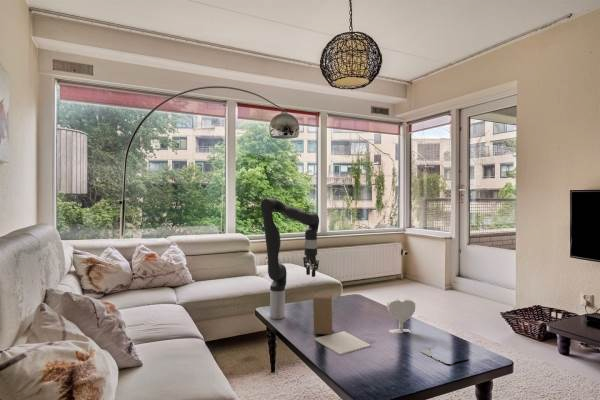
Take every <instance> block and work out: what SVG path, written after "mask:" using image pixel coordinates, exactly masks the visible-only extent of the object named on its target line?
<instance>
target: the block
mask: <svg viewBox="0 0 600 400" xmlns="http://www.w3.org/2000/svg"><path fill="white" fill-rule="evenodd" d="M332 298H333V297H332V294H329V293H327V294H326V293H325V294H324V293H322V294H321V293H317V294H314V295H313V299H312V300H313V302H312V303H313V304H312V305H313V307H312V308H313V311H312V312H313V334H315V335H331V334H333V305H332V304H333V303H332V302H333V300H332Z"/></svg>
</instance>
